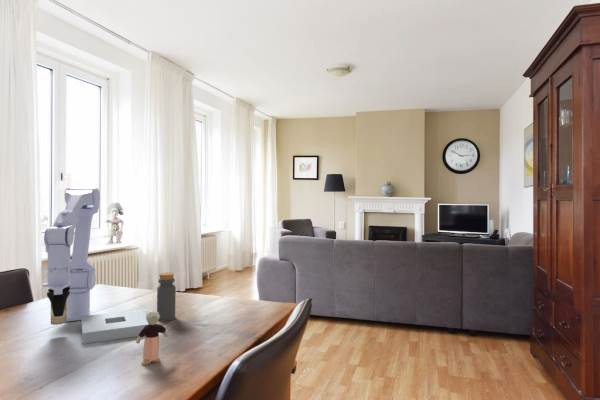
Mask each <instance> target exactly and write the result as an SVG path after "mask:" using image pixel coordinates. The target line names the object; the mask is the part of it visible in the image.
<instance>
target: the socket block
mask: <svg viewBox="0 0 600 400" xmlns="http://www.w3.org/2000/svg"><path fill="white" fill-rule="evenodd" d="M146 315H147V313H145V311H144V309H143V308H142V309H141V308H140V309H133V310H123V311H115V312H106V313H97V314H91V315H87V316H81V320H80V321H81V323H80V324H81V325H80V326H81V341H82V343H81V344H82V345H85V344H91V343H99V342H100V343H101V342H106V341H113V340H120V339H126V338H133V337H138V336H139V333H140V332H141V331H142V329H143V328H144V327H145V326H146V325H149V324H148V322H147V320H146Z"/></svg>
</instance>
